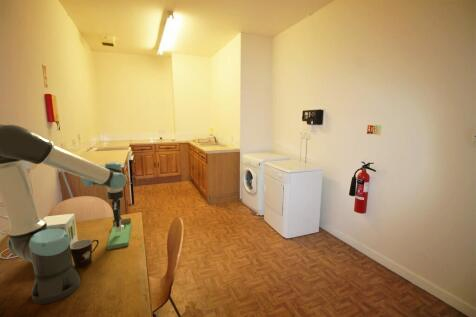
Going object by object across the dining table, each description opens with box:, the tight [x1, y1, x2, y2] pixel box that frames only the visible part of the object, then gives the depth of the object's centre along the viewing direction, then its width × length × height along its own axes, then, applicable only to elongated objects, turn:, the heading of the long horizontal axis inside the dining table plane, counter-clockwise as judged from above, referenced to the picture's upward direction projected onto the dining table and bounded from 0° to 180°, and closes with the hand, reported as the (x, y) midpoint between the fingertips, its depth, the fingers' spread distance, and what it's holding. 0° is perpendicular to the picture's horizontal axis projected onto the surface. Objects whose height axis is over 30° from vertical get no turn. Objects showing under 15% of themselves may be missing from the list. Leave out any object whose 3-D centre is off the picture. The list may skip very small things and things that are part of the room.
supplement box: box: [42, 213, 79, 245], centre depth 117 cm, size 13×13×18 cm
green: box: [106, 217, 132, 250], centre depth 134 cm, size 26×10×5 cm, turn 21°
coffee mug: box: [70, 238, 99, 269], centre depth 109 cm, size 12×9×10 cm
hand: (118, 231), depth 132 cm, fingers closed
